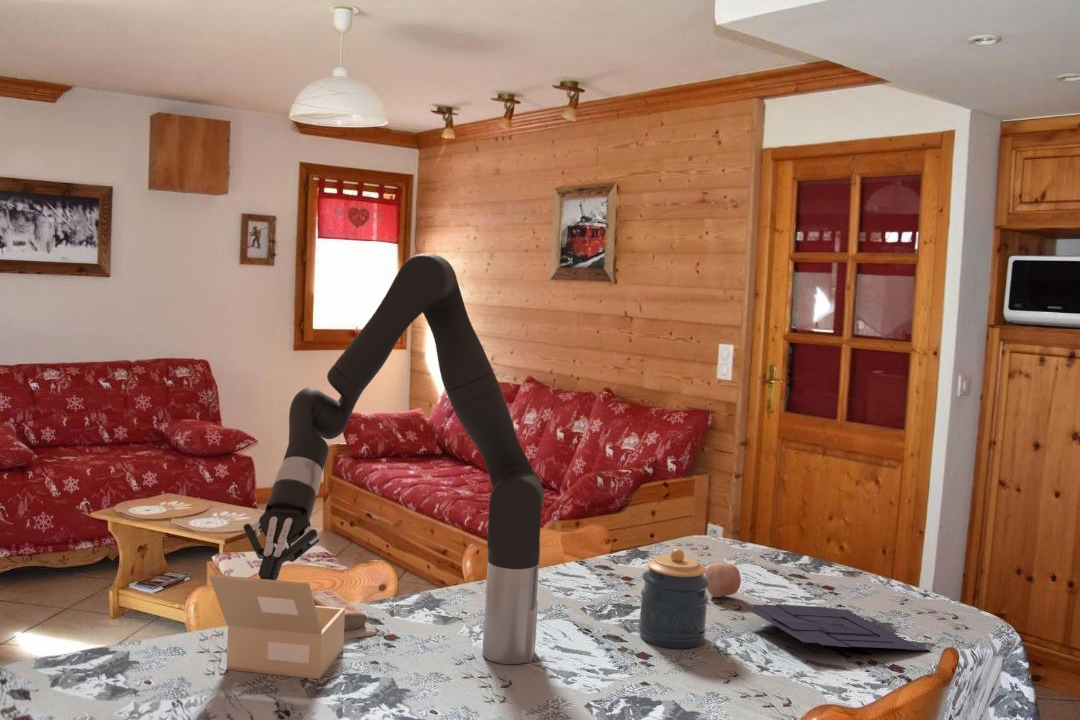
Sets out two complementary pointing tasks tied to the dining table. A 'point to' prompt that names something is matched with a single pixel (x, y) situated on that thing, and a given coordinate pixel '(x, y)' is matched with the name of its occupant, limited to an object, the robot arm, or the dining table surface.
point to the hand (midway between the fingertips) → (266, 581)
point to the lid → (266, 604)
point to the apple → (722, 579)
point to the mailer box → (288, 647)
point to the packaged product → (353, 617)
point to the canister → (674, 601)
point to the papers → (829, 626)
